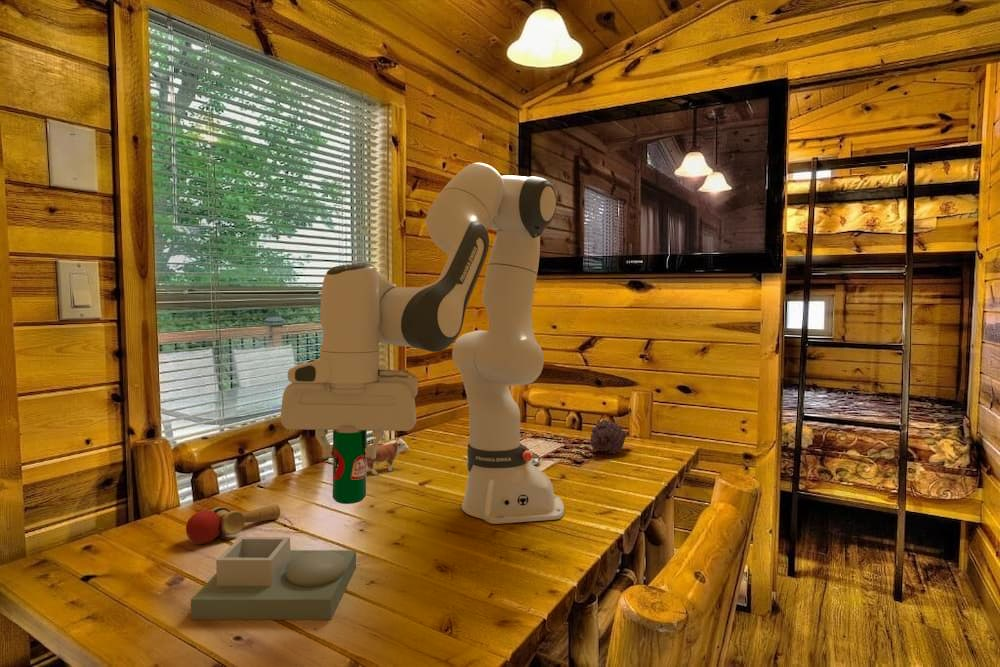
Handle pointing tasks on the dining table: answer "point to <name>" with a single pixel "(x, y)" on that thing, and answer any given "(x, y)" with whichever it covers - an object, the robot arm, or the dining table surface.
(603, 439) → the pine cone
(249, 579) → the grey desk organizer tray
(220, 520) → the kendama
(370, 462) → the bull figurine
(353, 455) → the soda can
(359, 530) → the dining table surface
